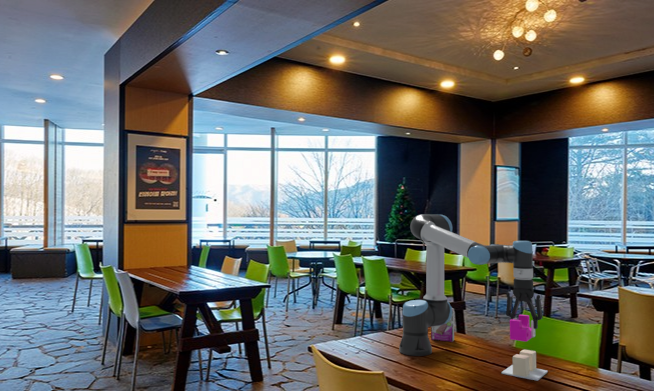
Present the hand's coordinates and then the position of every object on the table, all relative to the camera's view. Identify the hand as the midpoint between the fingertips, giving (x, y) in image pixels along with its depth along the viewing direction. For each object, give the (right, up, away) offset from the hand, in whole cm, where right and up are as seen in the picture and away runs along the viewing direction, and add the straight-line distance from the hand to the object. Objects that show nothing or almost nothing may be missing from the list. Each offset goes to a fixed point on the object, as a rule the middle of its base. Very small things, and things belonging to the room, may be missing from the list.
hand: (524, 335), depth 202 cm
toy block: (-1, 0, -1) cm, 2 cm away
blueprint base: (0, -15, -1) cm, 15 cm away
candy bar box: (-21, -18, +53) cm, 60 cm away
